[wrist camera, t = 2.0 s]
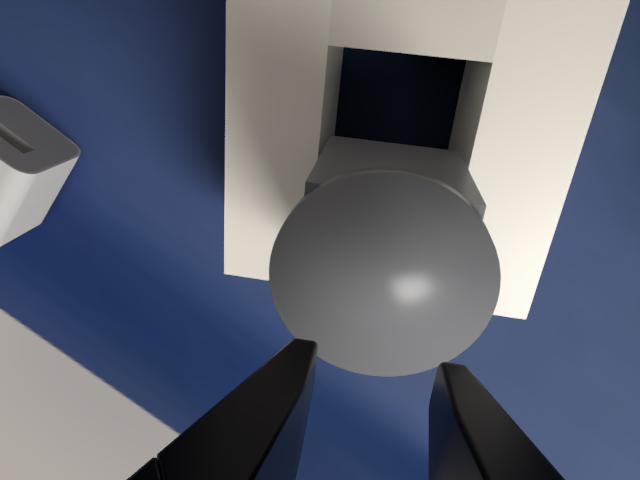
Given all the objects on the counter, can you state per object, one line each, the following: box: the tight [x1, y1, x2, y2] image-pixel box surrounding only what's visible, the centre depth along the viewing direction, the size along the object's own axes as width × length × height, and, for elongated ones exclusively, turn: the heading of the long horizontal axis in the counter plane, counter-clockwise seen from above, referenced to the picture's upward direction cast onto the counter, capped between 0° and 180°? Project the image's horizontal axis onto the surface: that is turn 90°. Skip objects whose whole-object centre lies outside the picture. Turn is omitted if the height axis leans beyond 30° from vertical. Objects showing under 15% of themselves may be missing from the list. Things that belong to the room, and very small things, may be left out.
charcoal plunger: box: [269, 136, 501, 376], centre depth 13 cm, size 5×5×6 cm
